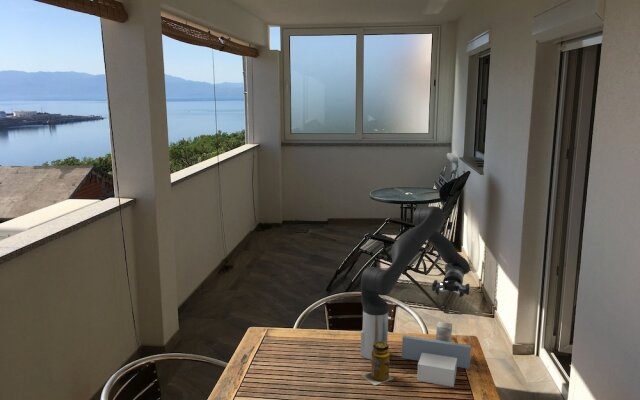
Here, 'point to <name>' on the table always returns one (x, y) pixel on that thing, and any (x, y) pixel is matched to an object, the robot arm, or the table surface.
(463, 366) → the screen
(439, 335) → the lettered block
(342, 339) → the table surface
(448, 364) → the plinth
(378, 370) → the condiment
